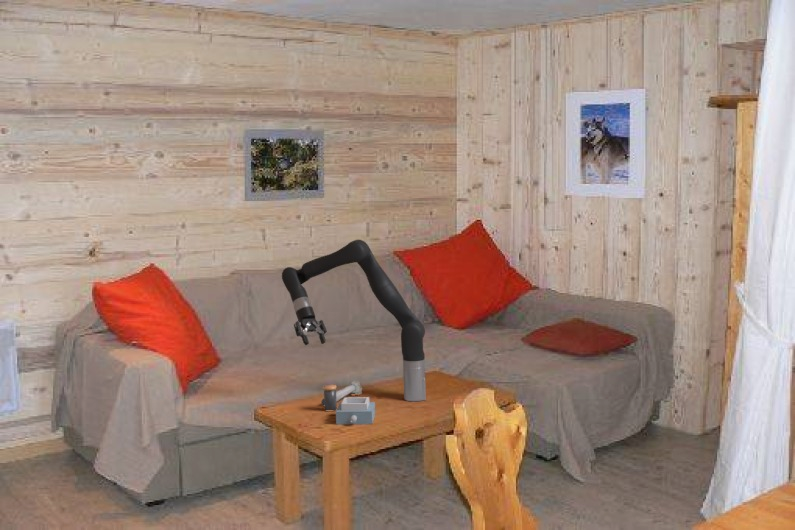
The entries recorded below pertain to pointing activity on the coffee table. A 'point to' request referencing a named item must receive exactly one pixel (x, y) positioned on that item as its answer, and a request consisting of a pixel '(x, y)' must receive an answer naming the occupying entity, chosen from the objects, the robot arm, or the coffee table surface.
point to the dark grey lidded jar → (330, 397)
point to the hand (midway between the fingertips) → (315, 343)
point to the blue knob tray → (355, 411)
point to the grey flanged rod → (348, 390)
